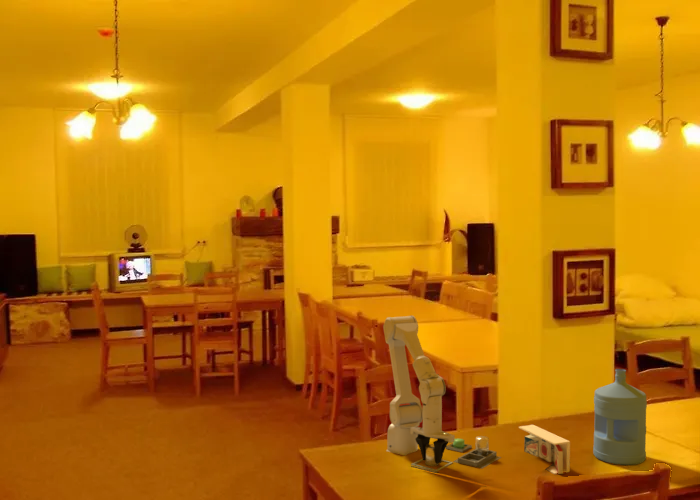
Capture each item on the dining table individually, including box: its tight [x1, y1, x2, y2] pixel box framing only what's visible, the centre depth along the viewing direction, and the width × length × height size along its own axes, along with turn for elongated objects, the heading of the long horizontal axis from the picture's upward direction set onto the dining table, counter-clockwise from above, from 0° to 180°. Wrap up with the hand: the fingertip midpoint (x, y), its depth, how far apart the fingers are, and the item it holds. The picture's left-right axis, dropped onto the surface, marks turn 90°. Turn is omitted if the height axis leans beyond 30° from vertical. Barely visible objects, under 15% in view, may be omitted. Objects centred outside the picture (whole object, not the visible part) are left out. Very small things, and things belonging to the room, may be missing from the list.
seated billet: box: [475, 435, 490, 456], centre depth 232 cm, size 4×4×6 cm
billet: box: [424, 443, 440, 467], centre depth 226 cm, size 4×4×6 cm
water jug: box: [592, 368, 648, 466], centre depth 234 cm, size 16×16×28 cm
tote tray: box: [410, 458, 454, 474], centre depth 226 cm, size 9×9×1 cm
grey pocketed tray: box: [452, 448, 502, 469], centre depth 230 cm, size 10×13×3 cm
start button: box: [452, 438, 465, 449], centre depth 241 cm, size 4×4×3 cm
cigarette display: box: [518, 424, 571, 475], centre depth 229 cm, size 20×6×9 cm, turn 21°
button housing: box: [445, 442, 473, 453], centre depth 241 cm, size 6×6×2 cm
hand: (432, 461), depth 226 cm, fingers closed on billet, 4 cm apart
